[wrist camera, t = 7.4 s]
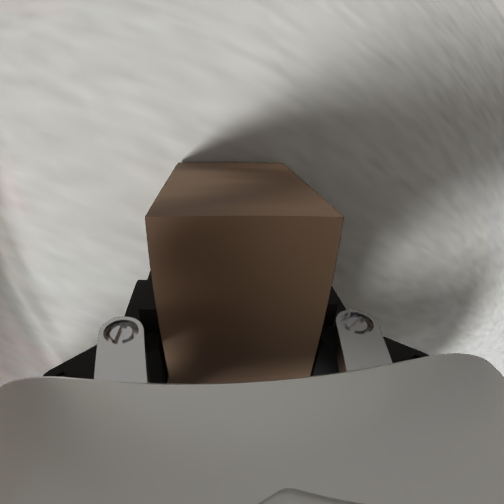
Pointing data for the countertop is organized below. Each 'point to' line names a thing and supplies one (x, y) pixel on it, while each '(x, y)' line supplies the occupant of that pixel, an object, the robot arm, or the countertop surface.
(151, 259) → the brown block
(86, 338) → the countertop surface
